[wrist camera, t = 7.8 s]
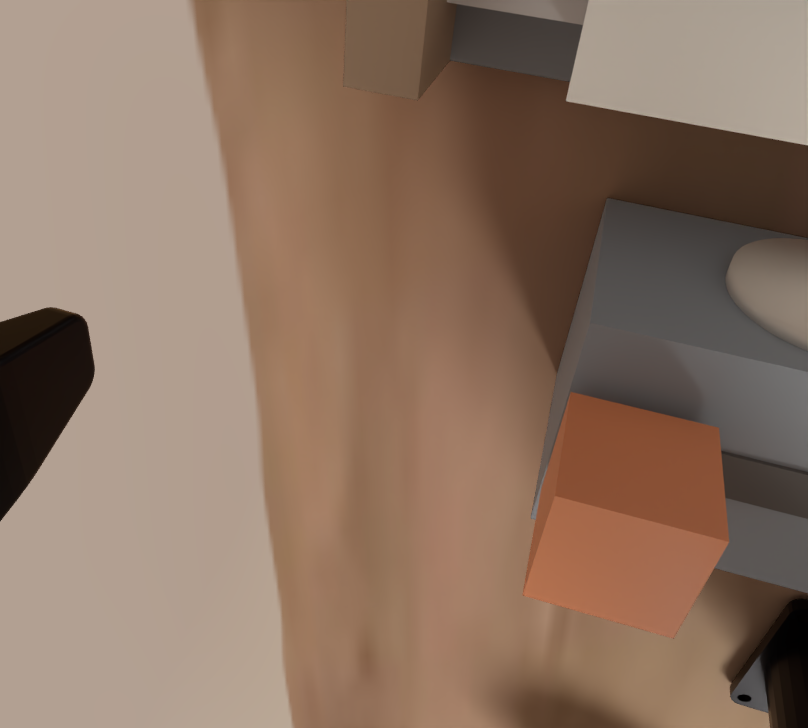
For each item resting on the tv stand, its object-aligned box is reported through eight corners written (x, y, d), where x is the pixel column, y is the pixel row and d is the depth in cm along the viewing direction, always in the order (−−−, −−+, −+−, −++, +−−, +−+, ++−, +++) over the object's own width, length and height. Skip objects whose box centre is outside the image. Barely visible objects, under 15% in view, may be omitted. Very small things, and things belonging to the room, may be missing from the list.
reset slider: (671, 523, 17) (673, 638, 15) (541, 489, 17) (522, 595, 15) (718, 427, 15) (729, 541, 13) (570, 391, 16) (554, 496, 13)
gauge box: (898, 456, 22) (963, 638, 17) (556, 374, 23) (530, 521, 19) (1038, 262, 18) (1174, 431, 13) (612, 177, 19) (596, 302, 14)
